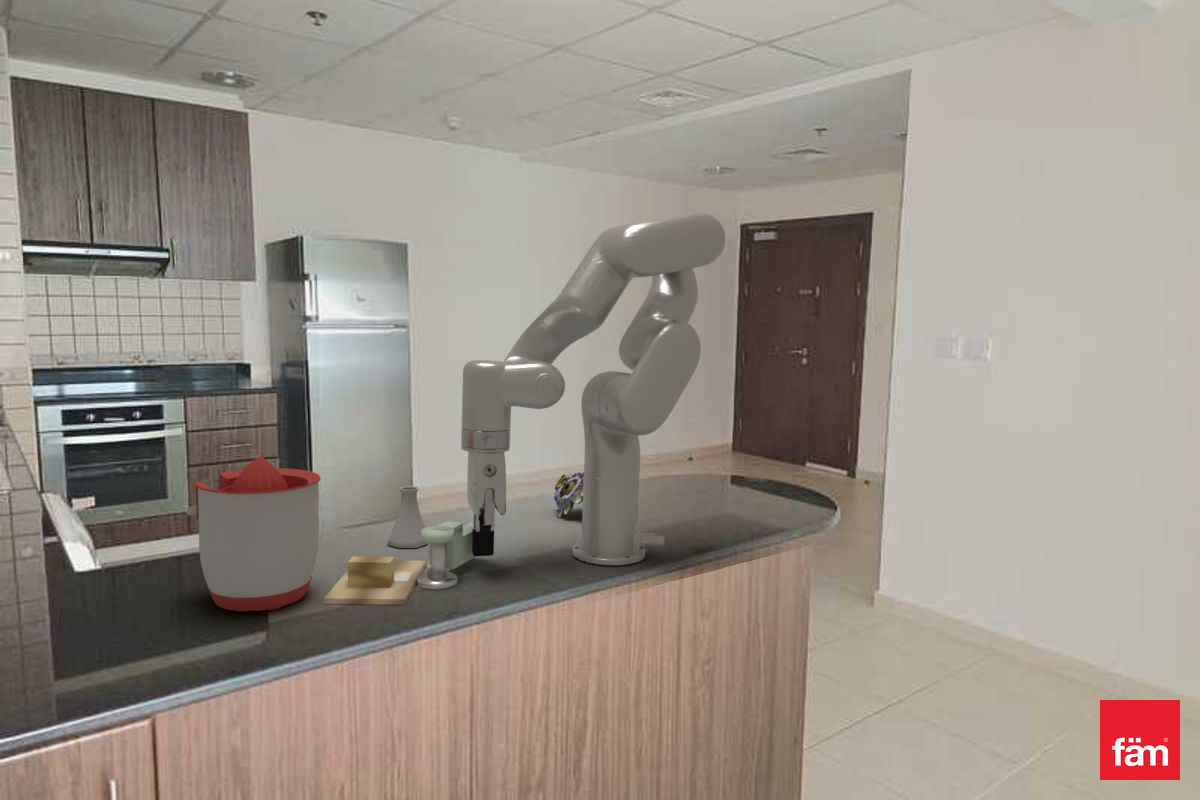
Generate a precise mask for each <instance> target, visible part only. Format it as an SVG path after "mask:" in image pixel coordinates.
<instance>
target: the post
mask: <svg viewBox="0 0 1200 800" xmlns="http://www.w3.org/2000/svg"><path fill="white" fill-rule="evenodd" d="M447 569H448V568H447V542H442V543H430V542H428V544H427V572H422V574H421V575H419V576H418V577H417V583H416V586H417V587H418V588H420V589H423V590H429V591H432V590H433V591H438V590H439V591H440V590H447V589H450V588H453V587H455V586H457V583H458V575H457V574H455V573H453V572H451V571H448V570H447Z"/></svg>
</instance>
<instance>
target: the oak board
mask: <svg viewBox="0 0 1200 800" xmlns="http://www.w3.org/2000/svg"><path fill="white" fill-rule="evenodd" d="M426 566H427V560H413V559H412V560H411V559H410V560H408V559H407V560H402V559H397V560H396V559H395V556H364V555H363V556H361V555H358V556H357V555H353V556H351V557H350V559H349V560H348V561H347V570H346V571H345V573H343V575H341V577H340V579H338V581H337V582H336V583H335V584H334V586H333V587H332V588H331V589H330V590H329V592H327V594H326V595H325V596H324V598H323V605H373V606H374V605H377V606H378V605H385V606H386V605H389V606H390V605H391V606H405V605H406V604H407V602H408V600H409V598H410V597H411V594H412V592H413V591H414V588H415V587H416V586H417V577H418V576H419V575H421V574H423V573H424V569H425V568H426Z"/></svg>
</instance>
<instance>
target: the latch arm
mask: <svg viewBox="0 0 1200 800" xmlns="http://www.w3.org/2000/svg"><path fill="white" fill-rule="evenodd" d="M473 529H475V528H474V527H473V522H472V521H471V522H469V523H467V524H465V525H464V523H463V522H458V521H457V522H456V521H445V522H442V523H441V524H438V525H433V526H425V528H423V529H422V530H421V540H423V541H425V542H430V543H442V542H447V569H450V570H455V569H456V568H458V567H460V566H461V565H463V564H464V563H467V562H469V561H470V560H473V558H475V557H476V556H474V555H473V553H472V531H473Z"/></svg>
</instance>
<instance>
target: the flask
mask: <svg viewBox="0 0 1200 800" xmlns="http://www.w3.org/2000/svg"><path fill="white" fill-rule="evenodd" d="M419 488H420V487H419V486H415V485H406V486H400V487H399V493H400V494H401V495H400V505H399V509H398V513H397V517H396V519H395V523H394V524H393V527H392V530H391V533H390V535H389V538H388V541H387V545H386V546H389V547H395V548H398V549H417V548H420V547H423V546H425V545H428V542H425V541H423V540H421V530H422V529H423V528H426V526H425V523H424V520H423V518H422V515H421V512H420V509H419V505H418V504H419V502H418V499H417V498H418V491H419Z"/></svg>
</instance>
